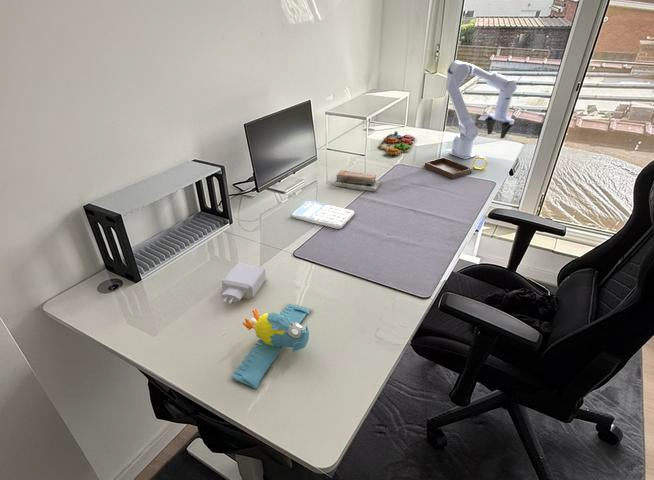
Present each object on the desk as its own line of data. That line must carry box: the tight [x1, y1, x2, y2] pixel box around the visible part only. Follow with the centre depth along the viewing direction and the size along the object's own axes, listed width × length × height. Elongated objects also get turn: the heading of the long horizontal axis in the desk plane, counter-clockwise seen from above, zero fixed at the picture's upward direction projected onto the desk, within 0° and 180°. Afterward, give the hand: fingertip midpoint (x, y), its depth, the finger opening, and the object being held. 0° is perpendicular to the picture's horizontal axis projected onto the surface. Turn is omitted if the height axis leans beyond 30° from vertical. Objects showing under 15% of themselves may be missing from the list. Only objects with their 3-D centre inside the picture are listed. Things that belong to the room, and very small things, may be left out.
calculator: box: [291, 200, 355, 230], centre depth 155 cm, size 13×20×2 cm, turn 62°
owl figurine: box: [231, 303, 311, 390], centre depth 99 cm, size 28×9×15 cm
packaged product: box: [334, 170, 381, 193], centre depth 178 cm, size 18×5×10 cm
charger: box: [220, 262, 267, 304], centre depth 117 cm, size 5×9×15 cm
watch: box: [472, 155, 488, 171], centre depth 192 cm, size 6×3×6 cm, turn 77°
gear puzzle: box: [378, 130, 416, 156], centre depth 217 cm, size 31×16×4 cm, turn 160°
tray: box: [424, 156, 473, 180], centre depth 192 cm, size 17×12×2 cm
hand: (495, 135), depth 204 cm, fingers open, 7 cm apart
